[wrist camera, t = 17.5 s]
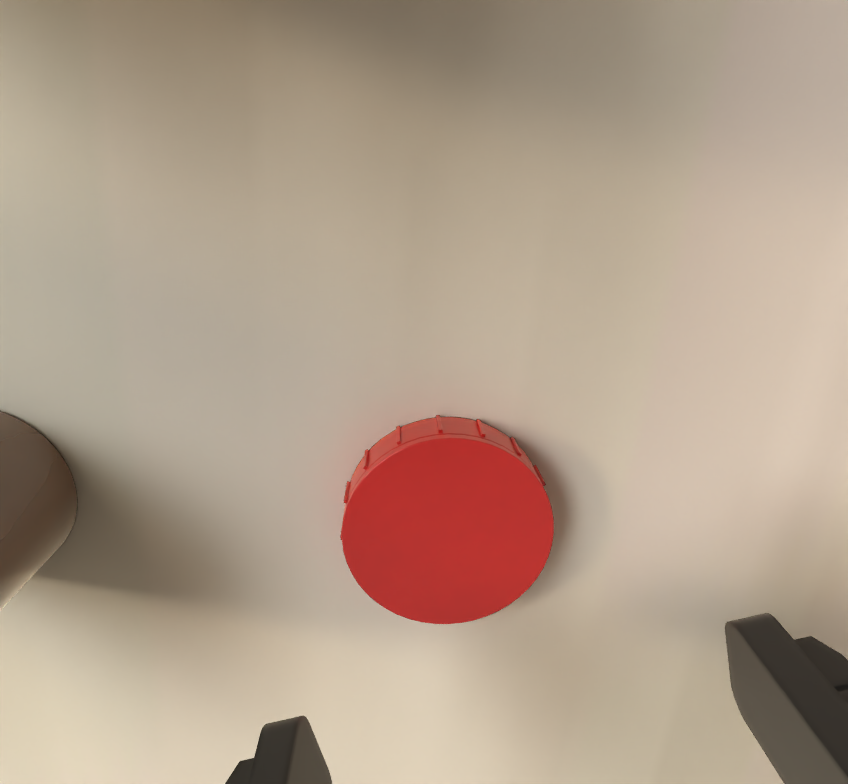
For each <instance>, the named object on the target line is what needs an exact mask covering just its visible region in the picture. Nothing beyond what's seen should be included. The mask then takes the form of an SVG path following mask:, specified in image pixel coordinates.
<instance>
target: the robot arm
mask: <svg viewBox="0 0 848 784" xmlns="http://www.w3.org/2000/svg"><path fill="white" fill-rule="evenodd" d="M725 633H726V643H727V652H728V661H729V670H730V679H731V687H732V691H733V694H734V698H735V700H736V703H737V706H738V708H739V710H740V712H741V715H742V717H743V718H744V720H745V722H746V724H747V725H748V727H749V728H750V730H751V732H752V733H753V735H754V736H755V738H756V739H757V741H758V743H759V744H760V746H761V747H762V749H763V751H764V752H765V754H766V755H767V757H768V758H769V760H770V762H771V763H772V765H773V766H774V768H775V770H776V771H777V773H778V774H779V776H780V777H781V779H782V781H783V782H784V784H848V660H847V659H846V658H845V657H844V656H843V655H842V654H840V653H838V652H837V651H835V650H833V649H832V648H830V647H828V646H827V645H825V644H823V643H822V642H820V641H818V640H817V639H815V638H813V637H812V636H809V637H805V638H800V639H796V640H793V638H792V637H791V636H790V635H789V634H788V632H787V631H786V630H785V629H784V628H783V627H782V625H781V624H780V623H779V622H778V621H777V620H776V619H775V617H773V616H772V615H771V614H769V613H765V614H760V615H756V616H752V617H747V618H743V619H738V620H734V621H729V622H727V623H726V625H725ZM225 784H332V781H331V776H330V773H329V770H328V767H327V765H326V762H325V760H324V757H323V755H322V753H321V750H320V748H319V745H318V743H317V740H316V738H315V736H314V733H313V731H312V728H311V726H310V723H309V721H308V719H307V718H306V717H305V716H299V717H295V718H291V719H286V720H282V721H277V722H273V723H268V724H265V725H264V727H263V728H262V730H261V734H260V737H259V741H258V745H257V749H256V753H255V757H254V758H252V759H248V760H243V761H240V762H239V763H238V765H237V766H236V768H235V769H234V771H233V773H232V774H231V776H230V777H229V779H228V780H227V782H226V783H225Z"/></svg>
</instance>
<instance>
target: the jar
mask: <svg viewBox="0 0 848 784" xmlns="http://www.w3.org/2000/svg"><path fill="white" fill-rule="evenodd" d="M76 512H77V494H76V487H75V484H74V480H73V477H72V475H71V472H70V470H69V468H68V466H67V464H66V463H65V461H64V459H63V458H62V456H61V455H60V453H59V452H58V451H57V450H56V448H55V447H54V446H53V445H52V444H51V443H50V442H49V441H48V440H47V439H46V438H45V437H44V436H43V435H42V434H40V433H39V432H38V431H37V430H35V429H34V428H32V427H31V426H29V425H28V424H26V423H25V422H23V421H21V420H19V419H17V418H15V417H13V416H11V415H8V414H6V413H3V412H1V411H0V611H1V610H2V609H3V608H4V606H5V605H6V604H7V603H8V602H9V601H10V600H11V599H12V598H13V597H14V596H15V595H16V594H17V592H18V591H19V590H20V589H21V588H22V587H23V586H24V585H25V584H26V583H27V582H28V581H29V579H30V578H31V577H32V576H33V575H34V574H35V573H36V572H37V571H38V570H39V569H40V568H41V566H42V565H43V564H44V563H45V562H46V561H47V560H48V559H49V558H50V557H51V556H52V555H53V553H54V552H55V551H56V550H57V549H58V548H59V547H60V546H61V545H62V543H63V542H64V541H65V540H66V538H67V537H68V535H69V533H70V531H71V529H72V527H73V524H74V521H75V518H76Z"/></svg>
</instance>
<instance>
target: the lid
mask: <svg viewBox="0 0 848 784" xmlns="http://www.w3.org/2000/svg"><path fill="white" fill-rule="evenodd" d="M545 485H546V484H545V482H544V480H543V478H542V476H541V474H540V472H539V470H538V468H537V466H536V465H534V466H533V465H532V463H531V461H530V460H529V458H528V457H527V455H526V454H525V452H524V451H523V450H522V449H521V448H520V447H519V446H518V445H517V443H516V441H515V438H513V437H511V438H509V437H508V436H507V435H505V434H504V433H502V432H500V431H499V430H497V429H495V428H493V427H491V426H489V425H486V424H484V423H481V420H479V419H477V420H476V421H474V420H471V419H465V418H458V417H440V415H436V418H429V419H424V420H420V421H416V422H413V423H410V424H407V425H405V426H403V427H400V426H397V427H396V430H394V431H393V432H391V433H390V434H388V435H386V436H385V437H383V438H382V439H381V440H380V441H378V442H377V443H376V444H375V445H374V446H373V447H372V448H371V449H370V450H368V449H367V450H366V451H365V455H364V457H363V458H362V460H361V461H360V463H359V464H358V466H357V468H356V470H355V472H354V474H353V476H352V478H351V481H350V482H349V481H347V485H346V491H345V497H344V503H346V505H345V511H344V517H343V524H342V530H341V540H342V544H343V551H344V555H345V558H346V562H347V564H348V566H349V569H350V571H351V573H352V575H353V576H354V578H355V579H356V581H357V582H358V584H359V585H360V586H361V588H362V589H363V590H364V591H365V592H366V593H367V594H368V595H369V596H370V597H371V598H372V599H373V600H374V601H376V602H377V603H378V604H380V605H381V606H383V607H384V608H386V609H388V610H390V611H391V612H393V613H395V614H397V615H400V616H403V617H405V618H408V619H411V620H415V621H420V622H425V623H433V624H454V623H463V622H468V621H473V620H476V619H479V618H483V617H486V616H488V615H490V614H493V613H495V612H497V611H499V610H501V609H503V608H504V607H506V606H508V605H509V604H511V603H512V602H514V601H515V600H516V599H517V598H519V597H520V596H521V595H522V594H523V593H524V592H525V591H526V590H527V589H528V588H529V587H530V586H531V585H532V584H533V582H534V581H535V580H536V579H537V577H538V576H539V574H540V573H541V571H542V569H543V568H544V565H545V563H546V561H547V559H548V557H549V553H550V550H551V546H552V541H553V534H554V519H553V513H552V507H551V504H550V501H549V498H548V495H547V493H546V491H545V489H544V487H543V486H545Z"/></svg>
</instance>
